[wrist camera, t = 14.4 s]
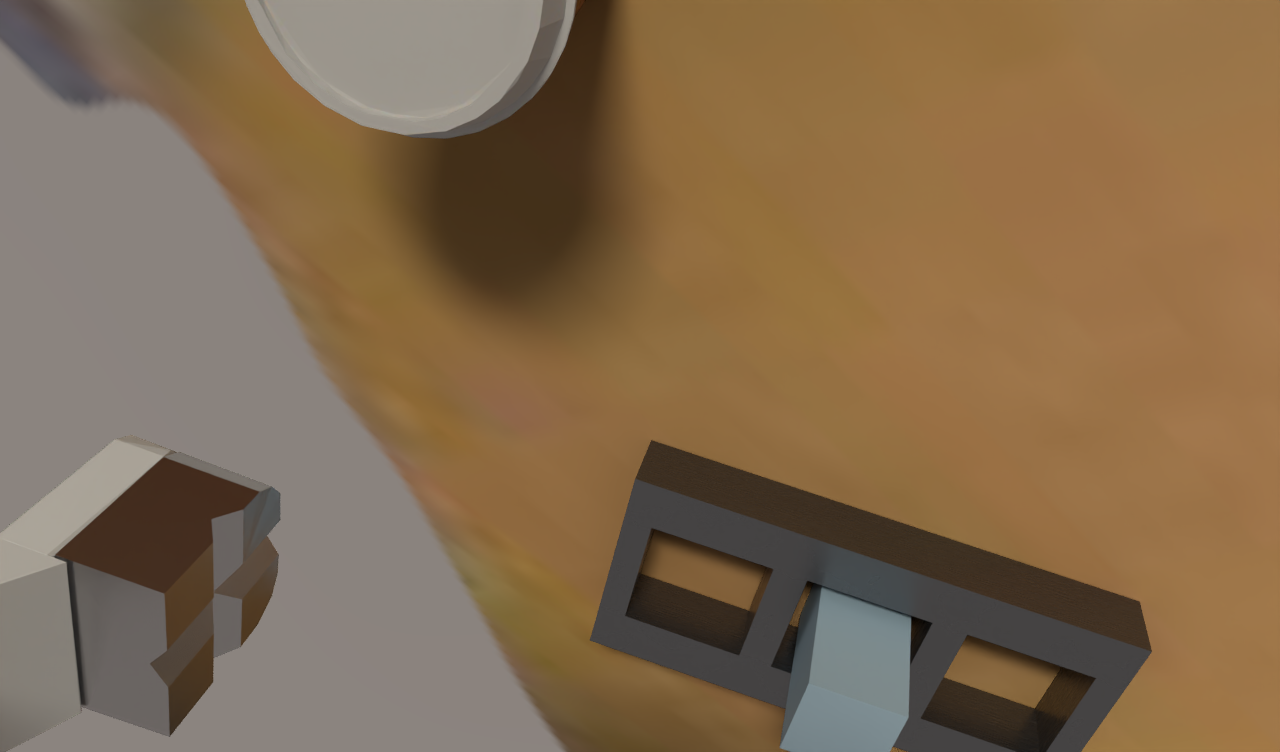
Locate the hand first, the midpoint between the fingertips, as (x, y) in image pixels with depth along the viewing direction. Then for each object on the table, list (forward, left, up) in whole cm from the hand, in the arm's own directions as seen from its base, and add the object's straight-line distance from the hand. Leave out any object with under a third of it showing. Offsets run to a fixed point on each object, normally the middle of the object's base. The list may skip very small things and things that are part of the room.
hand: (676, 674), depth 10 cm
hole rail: (-8, +25, -31) cm, 41 cm away
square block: (-8, +25, -31) cm, 41 cm away
